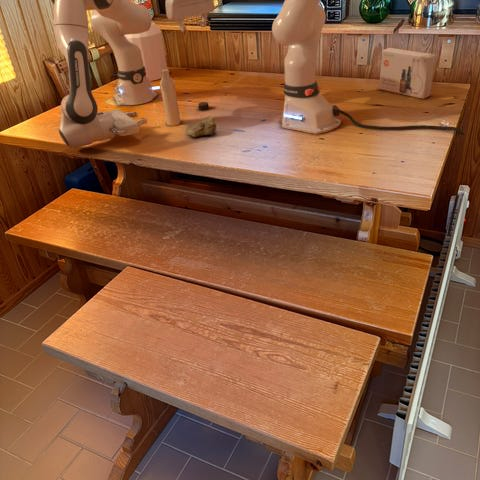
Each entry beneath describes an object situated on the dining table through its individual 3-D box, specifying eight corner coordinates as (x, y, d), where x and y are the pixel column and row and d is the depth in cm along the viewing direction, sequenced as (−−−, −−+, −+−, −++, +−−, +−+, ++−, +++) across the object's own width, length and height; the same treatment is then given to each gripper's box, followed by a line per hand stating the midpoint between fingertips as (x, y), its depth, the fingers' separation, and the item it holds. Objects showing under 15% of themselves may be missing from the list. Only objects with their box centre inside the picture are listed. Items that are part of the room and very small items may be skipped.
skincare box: (377, 89, 194) (381, 50, 185) (385, 86, 197) (389, 47, 188) (423, 99, 180) (429, 56, 171) (430, 95, 183) (437, 53, 174)
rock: (185, 134, 174) (189, 139, 165) (182, 117, 171) (186, 121, 162) (213, 129, 176) (218, 134, 167) (210, 112, 173) (216, 117, 164)
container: (160, 81, 233) (149, 21, 217) (121, 82, 238) (108, 23, 222) (174, 69, 249) (165, 13, 233) (138, 70, 254) (126, 15, 238)
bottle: (168, 121, 185) (158, 68, 173) (181, 120, 184) (172, 67, 173) (166, 126, 180) (156, 72, 169) (179, 125, 180) (170, 71, 168)
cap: (201, 111, 191) (200, 106, 190) (197, 108, 194) (196, 103, 193) (210, 109, 192) (209, 103, 191) (206, 106, 196) (205, 101, 194)
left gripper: (113, 126, 159) (150, 115, 165) (95, 111, 174) (130, 102, 179) (117, 143, 163) (153, 132, 168) (100, 127, 178) (133, 118, 183)
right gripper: (205, -17, 175) (209, 23, 183) (160, -8, 165) (167, 33, 173) (215, -16, 171) (219, 24, 179) (170, -8, 161) (177, 35, 168)
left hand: (141, 117), depth 174 cm, fingers open, 8 cm apart
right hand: (193, 29), depth 176 cm, fingers open, 8 cm apart
